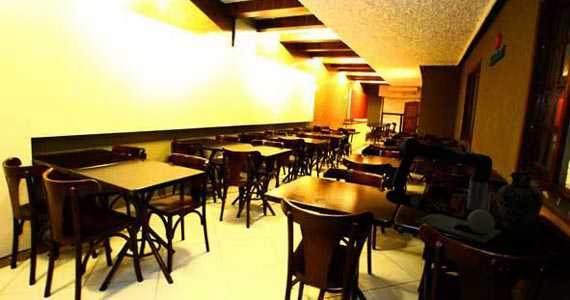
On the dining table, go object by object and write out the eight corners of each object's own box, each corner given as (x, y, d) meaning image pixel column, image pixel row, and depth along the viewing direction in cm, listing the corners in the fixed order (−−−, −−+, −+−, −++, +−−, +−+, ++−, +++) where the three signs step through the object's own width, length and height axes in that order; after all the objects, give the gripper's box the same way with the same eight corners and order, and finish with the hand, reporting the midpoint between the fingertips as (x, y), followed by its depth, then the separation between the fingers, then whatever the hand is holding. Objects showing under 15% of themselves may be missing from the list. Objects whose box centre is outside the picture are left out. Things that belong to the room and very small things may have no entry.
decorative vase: (542, 238, 147) (549, 179, 143) (494, 230, 156) (500, 174, 153) (535, 225, 165) (542, 172, 161) (493, 218, 174) (498, 168, 171)
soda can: (466, 218, 172) (468, 196, 171) (452, 216, 174) (454, 195, 172) (461, 214, 179) (464, 193, 178) (448, 212, 180) (450, 192, 179)
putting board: (414, 222, 163) (418, 186, 160) (434, 214, 177) (438, 181, 174) (483, 243, 138) (489, 201, 136) (501, 232, 152) (506, 194, 150)
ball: (499, 215, 149) (481, 229, 155) (478, 201, 151) (461, 215, 157) (502, 228, 140) (483, 242, 146) (480, 213, 142) (462, 228, 148)
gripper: (415, 199, 166) (446, 207, 154) (428, 195, 175) (459, 202, 163) (413, 213, 167) (445, 222, 155) (427, 208, 176) (457, 216, 164)
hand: (452, 212), depth 159 cm, fingers open, 8 cm apart
